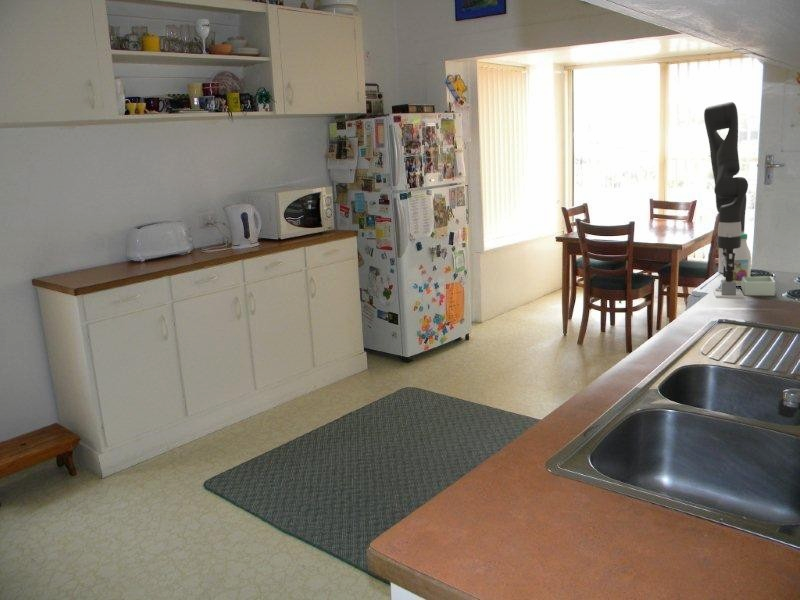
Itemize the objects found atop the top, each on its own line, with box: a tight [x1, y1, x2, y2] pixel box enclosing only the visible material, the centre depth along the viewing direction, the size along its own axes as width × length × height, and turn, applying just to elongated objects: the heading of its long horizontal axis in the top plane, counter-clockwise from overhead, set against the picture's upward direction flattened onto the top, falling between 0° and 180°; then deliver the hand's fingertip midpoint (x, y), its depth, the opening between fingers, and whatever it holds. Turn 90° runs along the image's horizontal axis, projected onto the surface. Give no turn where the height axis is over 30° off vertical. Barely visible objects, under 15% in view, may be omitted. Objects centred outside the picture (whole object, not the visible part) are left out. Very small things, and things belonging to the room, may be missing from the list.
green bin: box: [740, 276, 776, 297], centre depth 250 cm, size 10×10×5 cm
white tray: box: [712, 288, 745, 299], centre depth 251 cm, size 11×9×1 cm
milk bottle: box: [729, 232, 752, 286], centre depth 261 cm, size 8×8×20 cm
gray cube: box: [720, 279, 737, 295], centre depth 250 cm, size 5×5×5 cm
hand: (727, 279), depth 249 cm, fingers open, 8 cm apart
